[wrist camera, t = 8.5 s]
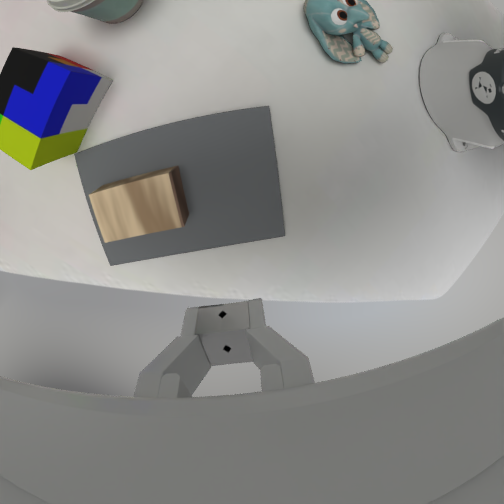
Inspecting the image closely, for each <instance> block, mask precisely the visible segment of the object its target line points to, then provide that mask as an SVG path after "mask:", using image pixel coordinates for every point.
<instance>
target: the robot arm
mask: <svg viewBox="0 0 504 504" xmlns="http://www.w3.org/2000/svg"><path fill="white" fill-rule="evenodd" d="M420 88H421V93H422V97H423V100H424V103H425V106H426V108H427V110H428V112H429V114H430V116H431V118H432V119H433V121H434V122H435V123H436V125H437V126H438V127H439V128H440V129H441V130H442V131H443V132H444V133H445V134H446V136H447V138H448V140H449V143H450V145H451V147H452V149H453V150H454V151H456V152H463V151H467V150H470V149H474V148H478V147H486V148H490V149H494V147H496V146H500V145H503V144H504V48H500V49H492V48H491V47H490V46H489V45H488V44H486V43H485V42H484V41H482V40H459V39H457V38H456V37H454V36H453V35H451V34H449V33H442V34H441V35H440V37H439V39H438V42H437V44H436V45H435V46H433V47H432V48H430V49H429V50H428V51H427V52H426V53H425V55H424V57H423V59H422V62H421V66H420ZM462 142H463V144H462ZM242 362H254V364H255V365H256V366H257V367H258V368H259V369H260V372H261V387H262V392H255V393H245V394H235V395H223V396H208V397H192V394H193V393H194V391H195V390H196V388H197V387H198V386H199V384H200V383H201V381H202V380H203V378H204V377H205V375H206V374H207V372H208V371H209V369H210V368H211V366H215V365H224V364H232V363H242ZM0 504H504V318H502V319H499V320H497V321H495V322H493V323H491V324H489V325H487V326H486V327H483V328H481V329H479V330H477V331H475V332H473V333H471V334H468V335H466V336H464V337H462V338H459V339H457V340H455V341H452V342H450V343H448V344H445V345H443V346H440V347H438V348H435V349H432V350H430V351H427V352H424V353H422V354H419V355H416V356H413V357H411V358H407V359H404V360H402V361H399V362H395V363H392V364H389V365H385V366H382V367H379V368H375V369H372V370H368V371H364V372H361V373H357V374H353V375H349V376H345V377H340V378H336V379H332V380H328V381H322V382H317V383H315V382H314V378H313V375H312V370H311V366H310V362H309V358H308V357H307V356H306V355H304V354H303V353H302V352H301V351H299V350H298V349H297V348H296V347H294V346H293V345H292V344H291V343H289V342H288V341H287V340H285V339H284V338H283V337H282V336H281V335H279V334H278V333H277V332H276V331H274V330H273V329H272V328H271V327H269V326H266V324H265V317H264V310H263V304H262V299H261V298H259V299H253V300H249V301H244V302H236V303H229V304H220V305H211V306H201V307H193V308H187V310H186V312H185V316H184V321H183V326H182V331H181V336H180V337H176V338H175V339H174V340H173V341H172V342H171V343H170V344H169V345H168V346H167V347H166V348H165V349H164V350H163V351H162V352H161V353H160V354H159V355H158V356H157V357H156V358H155V359H154V360H153V361H152V362H151V363H150V364H149V365H148V366H147V367H145V368H144V369H143V370H142V371H141V373H140V374H139V378H138V382H137V385H136V389H135V393H134V397H124V396H110V395H98V394H89V393H80V392H73V391H67V390H60V389H53V388H48V387H43V386H38V385H33V384H28V383H24V382H20V381H15V380H11V379H8V378H4V377H1V376H0Z"/></svg>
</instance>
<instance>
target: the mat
mask: <svg viewBox="0 0 504 504" xmlns="http://www.w3.org/2000/svg"><path fill="white" fill-rule="evenodd" d="M74 155H75V159H76V163H77V167H78V171H79V175H80V178H81V182H82V185H83V189H84V192H85V196H86V199H87V202H88V205H89V208H90V212H91V215H92V218H93V221H94V223H95V226H96V229H97V232H98V235H99V238H100V240H101V243H102V246H103V248H104V251H105V253H106V256H107V258H108V261H109V263H110V266H113V265H118V264H124V263H129V262H135V261H141V260H146V259H152V258H158V257H163V256H169V255H175V254H181V253H187V252H192V251H198V250H204V249H210V248H216V247H222V246H228V245H234V244H240V243H246V242H252V241H258V240H264V239H270V238H276V237H283V236H285V229H284V220H283V211H282V202H281V193H280V185H279V176H278V168H277V160H276V152H275V145H274V137H273V130H272V123H271V116H270V109H269V106H264V107H256V108H248V109H241V110H235V111H228V112H223V113H217V114H212V115H206V116H201V117H196V118H192V119H187V120H183V121H179V122H174V123H170V124H166V125H162V126H158V127H155V128H151V129H147V130H144V131H141V132H137V133H134V134H130V135H127V136H124V137H121V138H118V139H115V140H112V141H109V142H106V143H103V144H100V145H98V146H95V147H92V148H89V149H87V150H84V151H82V152H79V153H77V154H74ZM174 166H178V167H179V171H180V176H181V180H182V185H183V189H184V194H185V198H186V202H187V206H188V211H189V216H188V219H187V221H186V224H185V227H180V228H175V229H170V230H165V231H160V232H155V233H150V234H145V235H140V236H135V237H130V238H125V239H121V240H116V241H111V242H107V243H105V242H104V239H103V237H102V234H101V231H100V228H99V225H98V222H97V219H96V216H95V213H94V210H93V207H92V204H91V201H90V197H89V194H91V193H92V192H93V191H95V190H96V189H98V188H99V187H101V186H102V185H105V184H109V183H112V182H116V181H119V180H123V179H126V178H130V177H133V176H137V175H141V174H145V173H149V172H153V171H157V170H161V169H165V168H169V167H174Z"/></svg>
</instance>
